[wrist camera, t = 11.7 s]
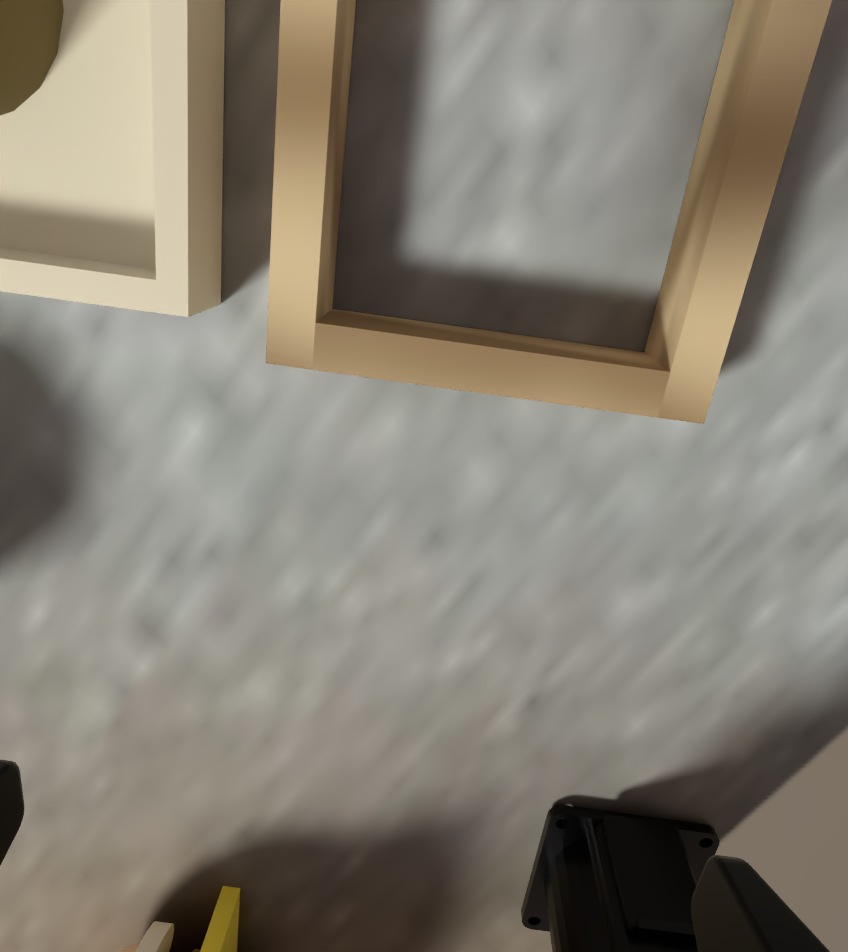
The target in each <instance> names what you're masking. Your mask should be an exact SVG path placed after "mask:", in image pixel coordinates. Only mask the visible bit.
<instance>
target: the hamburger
mask: <svg viewBox="0 0 848 952" xmlns="http://www.w3.org/2000/svg"><path fill="white" fill-rule="evenodd" d="M239 903H240V888H235V887H228V886H222V889H221V892H220V895H219V898H218V901H217V904H216V907H215V910H214V913H213V916H212V919H211V921H210V924H209V927H208V930H207V933H206V936H205V939H204V942H203V945H202V948H201V950H199V949H194V950H193V951H192V952H237V939H238V921H239ZM173 934H174V924H172V923H165V922H158V921H155V922H153V923H152V925H151V926H150V927H149V929H148V930H147V932H146V933H145V935H144V937H143V938H142V940H141V942H140V943H139V944H134V945H131V946H128V947H126V948H124V949H123V950H121V951H119V952H169V951H170V947H171V944H172V940H173Z"/></svg>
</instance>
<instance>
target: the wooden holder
mask: <svg viewBox="0 0 848 952" xmlns="http://www.w3.org/2000/svg"><path fill="white" fill-rule="evenodd" d="M831 2H832V0H734V4H733V8H732V12H731V16H730V20H729V24H728V28H727V31H726V35H725V39H724V43H723V47H722V51H721V55H720V59H719V63H718V67H717V70H716V74H715V78H714V82H713V86H712V90H711V94H710V98H709V102H708V106H707V109H706V113H705V117H704V121H703V125H702V129H701V133H700V137H699V141H698V145H697V148H696V152H695V156H694V160H693V164H692V168H691V172H690V176H689V180H688V184H687V187H686V191H685V195H684V199H683V203H682V207H681V211H680V215H679V219H678V223H677V226H676V230H675V234H674V238H673V242H672V246H671V250H670V254H669V258H668V262H667V265H666V269H665V273H664V277H663V281H662V285H661V289H660V293H659V297H658V301H657V304H656V308H655V312H654V316H653V320H652V324H651V328H650V332H649V336H648V340H647V343H646V347H645V351H644V352H639V351H632V350H625V349H617V348H610V347H603V346H596V345H589V344H582V343H574V342H567V341H560V340H553V339H546V338H538V337H531V336H524V335H517V334H510V333H503V332H495V331H488V330H481V329H474V328H467V327H459V326H452V325H445V324H438V323H431V322H424V321H416V320H409V319H402V318H395V317H388V316H380V315H373V314H366V313H359V312H352V311H345V310H337V309H332V307H333V294H334V281H335V268H336V255H337V242H338V229H339V216H340V203H341V190H342V177H343V164H344V151H345V138H346V125H347V112H348V99H349V86H350V73H351V60H352V47H353V34H354V21H355V8H356V0H281V5H280V29H279V53H278V78H277V102H276V127H275V151H274V175H273V200H272V224H271V249H270V273H269V297H268V322H267V346H266V363H268V364H275V365H283V366H290V367H297V368H304V369H311V370H319V371H326V372H333V373H340V374H348V375H355V376H362V377H369V378H376V379H384V380H391V381H398V382H405V383H413V384H420V385H427V386H434V387H441V388H449V389H456V390H463V391H470V392H478V393H485V394H492V395H499V396H506V397H514V398H521V399H528V400H535V401H543V402H550V403H557V404H564V405H571V406H579V407H586V408H593V409H600V410H608V411H615V412H622V413H629V414H637V415H644V416H651V417H658V418H665V419H673V420H680V421H687V422H694V423H702V424H704V422H705V419H706V415H707V412H708V409H709V405H710V402H711V399H712V396H713V392H714V389H715V386H716V382H717V379H718V376H719V372H720V369H721V366H722V362H723V359H724V356H725V353H726V349H727V346H728V343H729V339H730V336H731V333H732V329H733V326H734V323H735V320H736V316H737V313H738V310H739V306H740V303H741V300H742V296H743V293H744V290H745V286H746V283H747V280H748V277H749V273H750V270H751V267H752V263H753V260H754V257H755V253H756V250H757V247H758V244H759V240H760V237H761V234H762V230H763V227H764V224H765V220H766V217H767V214H768V211H769V207H770V204H771V201H772V197H773V194H774V191H775V187H776V184H777V181H778V177H779V174H780V171H781V168H782V164H783V161H784V158H785V154H786V151H787V148H788V144H789V141H790V138H791V135H792V131H793V128H794V125H795V121H796V118H797V115H798V111H799V108H800V105H801V101H802V98H803V95H804V92H805V88H806V85H807V82H808V78H809V75H810V72H811V68H812V65H813V62H814V59H815V55H816V52H817V49H818V45H819V42H820V39H821V35H822V32H823V29H824V26H825V22H826V19H827V16H828V12H829V9H830V6H831Z"/></svg>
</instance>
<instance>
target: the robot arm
mask: <svg viewBox="0 0 848 952" xmlns="http://www.w3.org/2000/svg"><path fill="white" fill-rule="evenodd" d="M23 815H24V800H23V792H22V784H21V777H20V770H19V767H18V765H17V764H16V763H15V762H12V761H7V760H0V865H1V863H2V861H3V859H4V857H5V855H6V853H7V851H8V849H9V847H10V845H11V843H12V841H13V839H14V837H15V836H16V834H17V832H18V830H19V827H20V825H21V822H22V819H23ZM559 819H563V820H559ZM718 846H719V839H718V837H717V834H716V832H715V830H714V828H713V827H712V826H710V825H706V824H699V823H692V822H684V821H677V820H669V819H662V818H654V817H647V816H639V815H632V814H624V813H617V812H609V811H601V810H594V809H586V808H579V807H571V806H564V805H558V806H555V807H553V808H551V809H550V810H549V812H548V814H547V818H546V821H545V825H544V829H543V832H542V836H541V840H540V843H539V847H538V851H537V854H536V858H535V862H534V865H533V869H532V873H531V876H530V880H529V884H528V887H527V891H526V895H525V898H524V902H523V906H522V909H521V914H522V923H523V925H524V926H525V927H527V928H530V929H534V930H542V931H550V936H551V944H552V951H553V952H829V950H828V949H827V948H826V947H825V946H824V945H823V944H822V943H821V942H820V940H819V939H818V938H817V937H816V936H815V935H814V934H813V933H812V932H811V931H810V930H809V929H808V928H807V926H806V925H805V924H804V923H803V922H802V921H801V920H800V919H799V918H798V917H797V916H796V914H795V913H794V912H793V911H792V910H791V909H790V908H789V907H788V906H787V905H786V904H785V903H784V902H783V900H782V899H781V898H780V897H779V896H778V895H777V894H776V893H775V892H774V891H773V890H772V889H771V887H770V886H769V885H768V884H767V883H766V882H765V881H764V880H763V879H762V878H761V877H760V876H759V874H758V873H757V872H756V871H755V870H754V869H753V868H752V867H751V866H750V865H749V864H748V863H747V862H745V861H744V860H742V859H739V858H734V857H727V856H718V855H715V853H716V850H717V848H718Z"/></svg>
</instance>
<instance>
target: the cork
mask: <svg viewBox="0 0 848 952" xmlns="http://www.w3.org/2000/svg"><path fill="white" fill-rule="evenodd" d="M63 13H64V8H63V0H0V115H3V114H6V113H9V112H12V111H15V110H16V109H17V108H18V107H19V106H20V105H21V104H22V103H23V102H25V101H26V100H27V99H28V98H29V97H30V96H31V95H32V94H34V93H35V92H36V91H37V90H38V89H39V88H40V87H41V85H42V83H43V81H44V79H45V77H46V75H47V73H48V71H49V69H50V67H51V65H52V63H53V61H54V59H55V57H56V55H57V53H58V47H59V40H60V33H61V26H62V19H63Z"/></svg>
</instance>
